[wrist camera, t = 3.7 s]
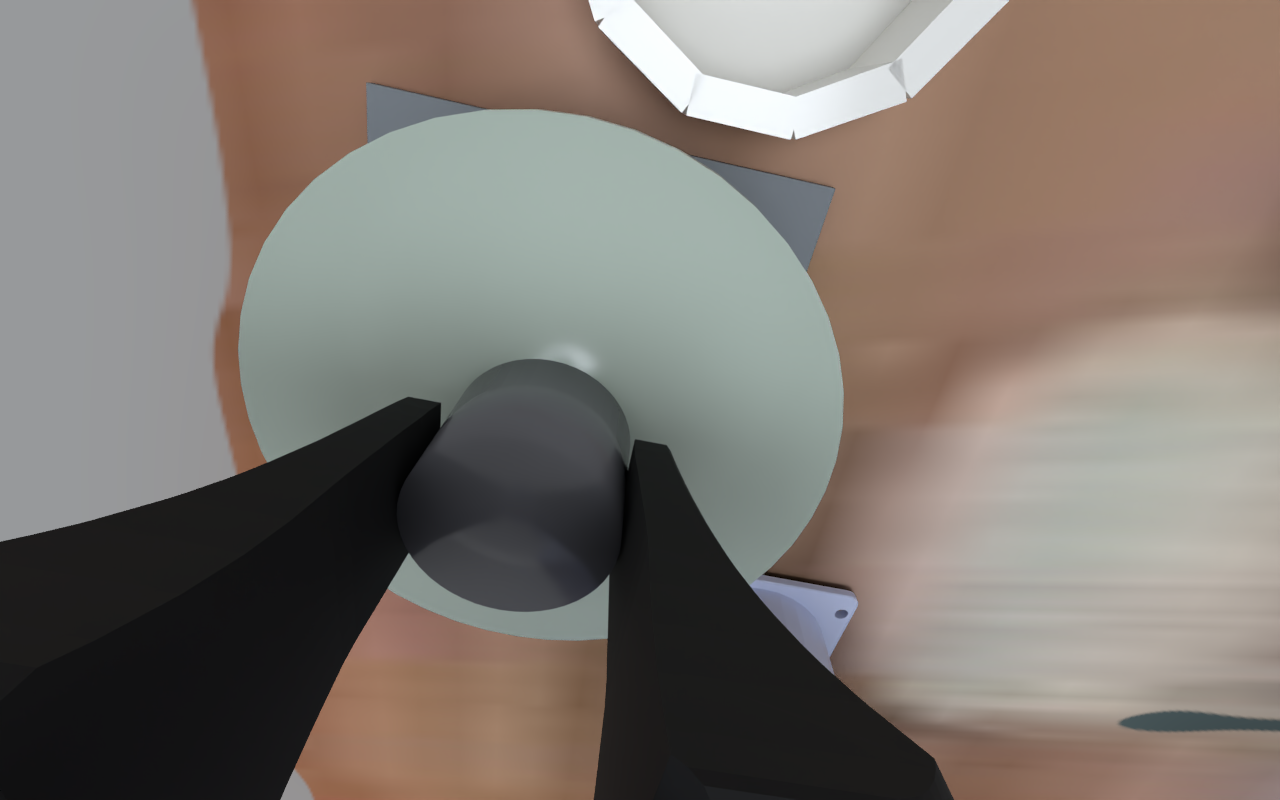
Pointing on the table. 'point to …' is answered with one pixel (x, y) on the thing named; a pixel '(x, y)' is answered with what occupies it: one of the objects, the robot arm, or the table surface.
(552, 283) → the lid
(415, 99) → the mat
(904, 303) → the table surface
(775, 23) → the bowl
